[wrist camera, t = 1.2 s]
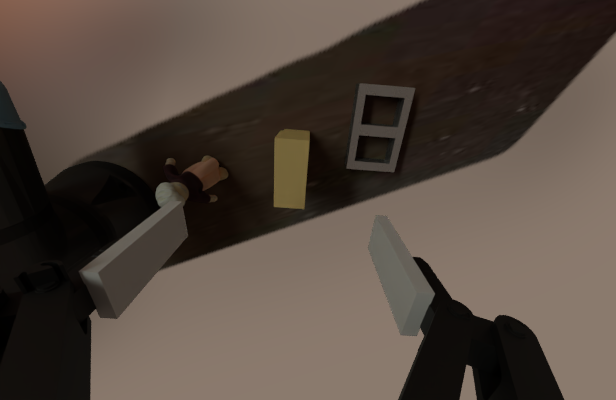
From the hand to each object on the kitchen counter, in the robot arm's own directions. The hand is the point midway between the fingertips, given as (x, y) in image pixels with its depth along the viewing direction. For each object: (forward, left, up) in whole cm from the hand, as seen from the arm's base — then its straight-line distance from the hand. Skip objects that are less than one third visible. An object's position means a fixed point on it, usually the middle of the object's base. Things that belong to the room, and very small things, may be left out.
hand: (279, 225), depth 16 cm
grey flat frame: (+11, +4, -20) cm, 24 cm away
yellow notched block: (0, 0, -20) cm, 20 cm away
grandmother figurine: (-13, -3, -21) cm, 25 cm away
